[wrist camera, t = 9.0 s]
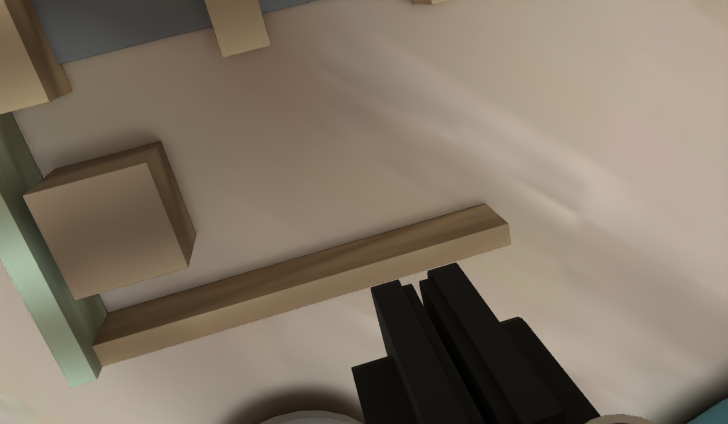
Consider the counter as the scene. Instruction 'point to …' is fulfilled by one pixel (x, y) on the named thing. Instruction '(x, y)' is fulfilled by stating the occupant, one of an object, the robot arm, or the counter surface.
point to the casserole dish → (714, 414)
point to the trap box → (201, 304)
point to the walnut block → (113, 220)
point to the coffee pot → (311, 418)
